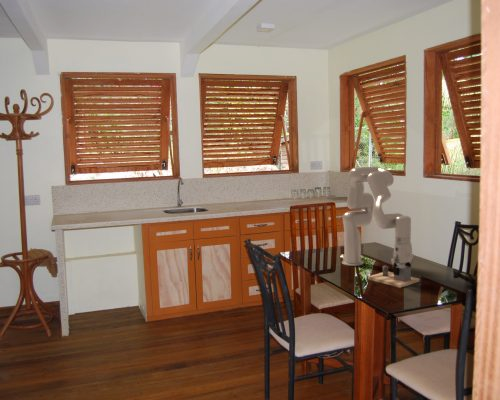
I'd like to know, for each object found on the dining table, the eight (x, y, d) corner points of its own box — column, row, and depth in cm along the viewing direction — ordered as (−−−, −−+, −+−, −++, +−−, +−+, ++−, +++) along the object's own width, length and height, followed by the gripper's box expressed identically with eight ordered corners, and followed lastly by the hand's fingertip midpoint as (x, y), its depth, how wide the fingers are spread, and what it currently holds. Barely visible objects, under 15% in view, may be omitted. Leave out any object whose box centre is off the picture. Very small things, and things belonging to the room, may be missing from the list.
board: (367, 279, 255) (368, 267, 254) (387, 273, 265) (387, 262, 264) (400, 287, 239) (400, 274, 238) (419, 281, 249) (419, 269, 248)
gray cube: (403, 281, 243) (403, 269, 242) (393, 279, 248) (393, 266, 247) (410, 279, 247) (411, 267, 246) (400, 277, 252) (401, 264, 251)
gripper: (398, 243, 237) (398, 277, 239) (419, 238, 247) (418, 271, 249) (385, 241, 243) (385, 274, 245) (406, 236, 253) (406, 268, 255)
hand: (402, 273), depth 247 cm, fingers open, 9 cm apart
